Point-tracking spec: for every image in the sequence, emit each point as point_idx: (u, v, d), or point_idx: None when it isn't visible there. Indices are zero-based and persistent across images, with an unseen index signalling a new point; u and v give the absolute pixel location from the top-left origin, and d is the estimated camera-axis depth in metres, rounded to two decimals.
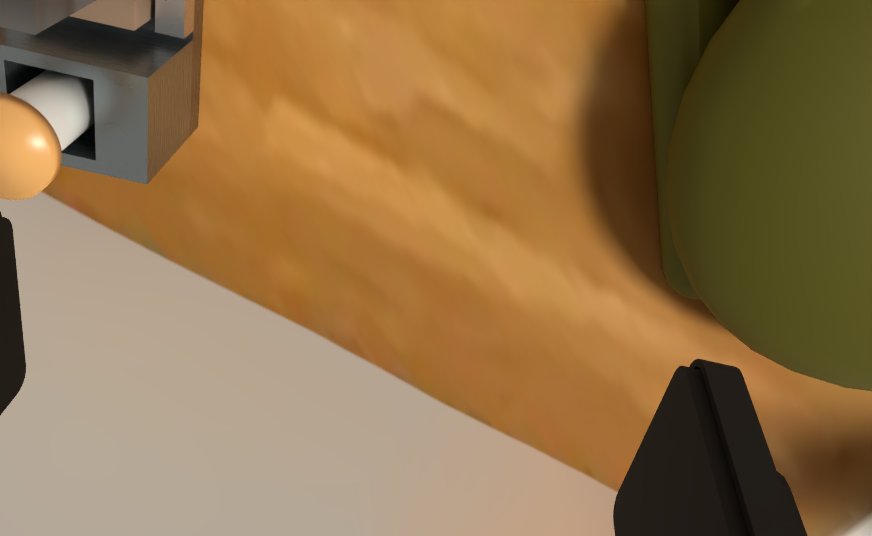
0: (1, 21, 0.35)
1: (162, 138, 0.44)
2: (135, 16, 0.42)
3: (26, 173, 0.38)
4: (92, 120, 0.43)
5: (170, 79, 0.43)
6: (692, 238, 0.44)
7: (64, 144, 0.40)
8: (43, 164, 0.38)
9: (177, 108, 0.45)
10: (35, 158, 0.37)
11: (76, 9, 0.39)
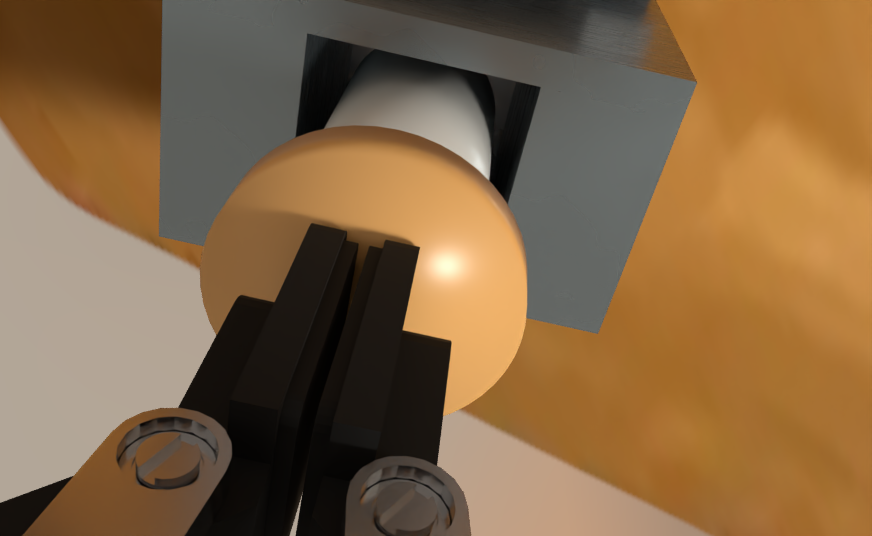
0: None
1: None
2: None
3: None
4: None
5: None
6: None
7: None
8: (494, 342, 0.12)
9: None
10: (474, 326, 0.12)
11: None
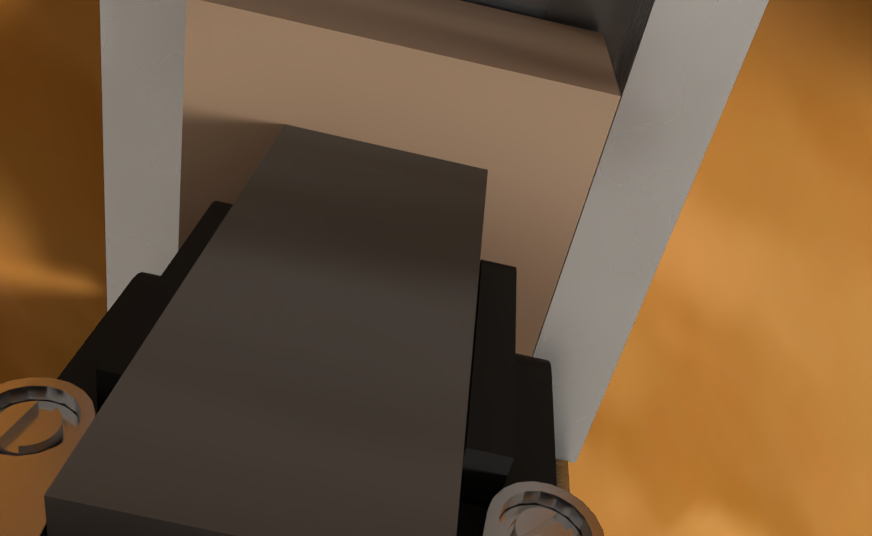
0: None
1: None
2: None
3: None
4: None
5: None
6: None
7: None
8: None
9: None
10: None
11: None
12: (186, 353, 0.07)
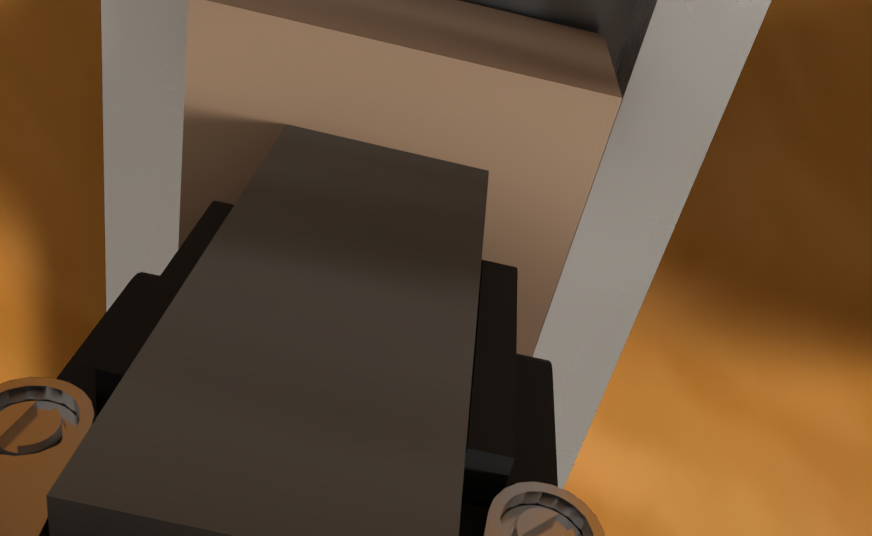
0: None
1: None
2: None
3: None
4: None
5: None
6: None
7: None
8: None
9: None
10: None
11: None
12: (188, 353, 0.07)
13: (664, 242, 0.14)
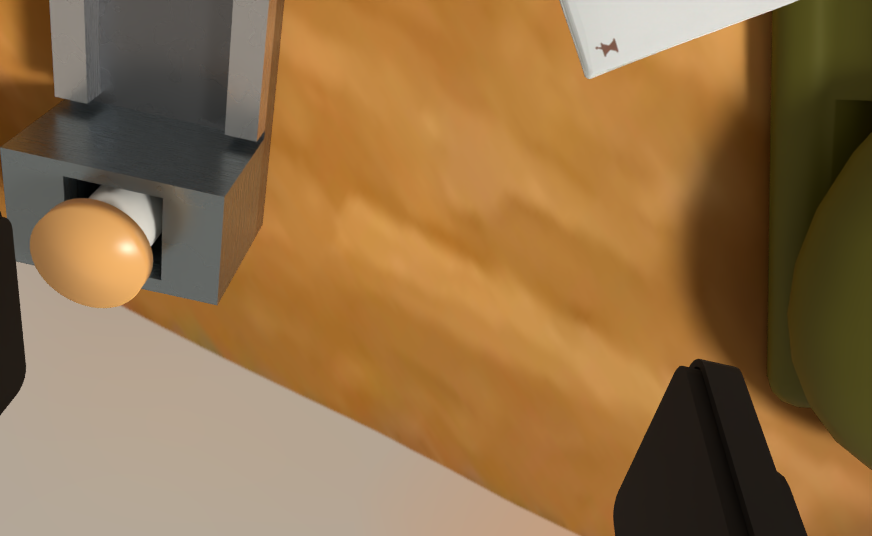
0: None
1: (232, 251, 0.40)
2: None
3: (116, 282, 0.36)
4: None
5: (242, 189, 0.39)
6: (819, 361, 0.40)
7: (151, 244, 0.38)
8: (135, 273, 0.35)
9: (246, 215, 0.41)
10: (127, 267, 0.35)
11: None
12: None
13: None
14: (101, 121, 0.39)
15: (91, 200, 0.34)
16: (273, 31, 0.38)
